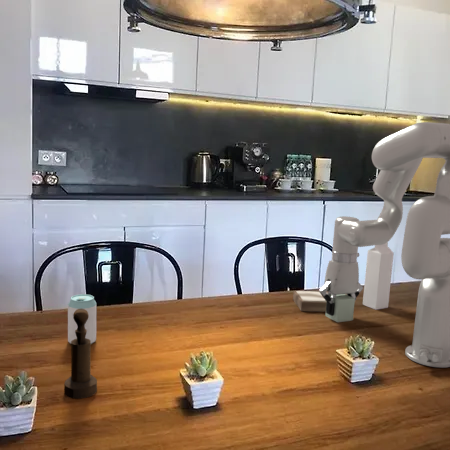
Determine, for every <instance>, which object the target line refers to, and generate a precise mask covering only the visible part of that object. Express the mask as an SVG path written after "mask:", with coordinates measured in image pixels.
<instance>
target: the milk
mask: <svg viewBox="0 0 450 450" xmlns="http://www.w3.org/2000/svg"><path fill="white" fill-rule="evenodd" d="M388 244H389V241H388V242H387V243H385V244H382V245H374V247H373V248H370V249H368V250H367V254H366V265H365V266H366V267H365V275H364V277H365V278H364V287H363V295H362V296H363V297H362V305H363V306H366V307H368V308H370V309H373V310H375V311H376V310H382V309H388V308H389V302H390V290H391V283H392V272H393V271H392V270H393V265H394V263H393V262H394V253H395V252H393V251H392V249H391V248H390V247H389V245H388Z"/></svg>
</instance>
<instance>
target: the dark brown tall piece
mask: <svg viewBox="0 0 450 450" xmlns="http://www.w3.org/2000/svg"><path fill="white" fill-rule="evenodd" d="M88 317H89V314H88V312H87V310H85V309H77V310H76V311H75V312H74V315H73V318H74V321H75V322H76V324H77V326H78V328H77V329H76V330H75V333H76V337H77V339H74V340H72V341H71V343H70V356H71V358H70V359H71V360H70V363H71V365H70V368H71V370H70V372H71V373H70V374H71V375H70V376H69V377H68V378H67V379H66V380H65V381H64V383H63V384H64V387H63V388H64V389H63V390H64V391H63V392H64V395H65V397H67V398H70V399H79V400H80V399H85V398H89V397H92V396H94V395H95V394H96V393H97V391H98V380H97V378H96V377H95V376H93V375H92V374H91V345H92V344H91V341H90V340H89V339H87V338H85V337H86V333H87V330H86V329H85V323H86V322H87V320H88Z"/></svg>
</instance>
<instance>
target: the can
mask: <svg viewBox="0 0 450 450" xmlns="http://www.w3.org/2000/svg"><path fill="white" fill-rule="evenodd" d="M77 309H85V310H87V312H88V314H89V317H88V320H87V322H86V323H85V329H86V330H87V333H86V337H85V338H87V339H89V340H90V341H91V345H92V344H93V343H95V342H96V341H97V302H96V300H95V296H93V295H91V294H83V293H81V294H75V295H72V296H71V297H70V300H69V302H68V303H67V342H68V343H69V344H71V341H72V340H74V339H77V337H76V333H75V330H76V329H77V328H78V326H77V324H76V322H75V321H74V318H73V315H74V312H75V311H76V310H77Z"/></svg>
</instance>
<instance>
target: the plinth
mask: <svg viewBox="0 0 450 450" xmlns="http://www.w3.org/2000/svg"><path fill="white" fill-rule="evenodd" d="M326 293H328V291H326ZM292 294H293V295H292V301H294V304H295V305H296V306H297V307H298V309H299V311H301V312H326V302H327V301H325V299H324V298H323V296H322V295H321V293H320V292H319V291H309V290H308V291H307V290H306V291H305V290H294V291H293V292H292Z"/></svg>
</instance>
